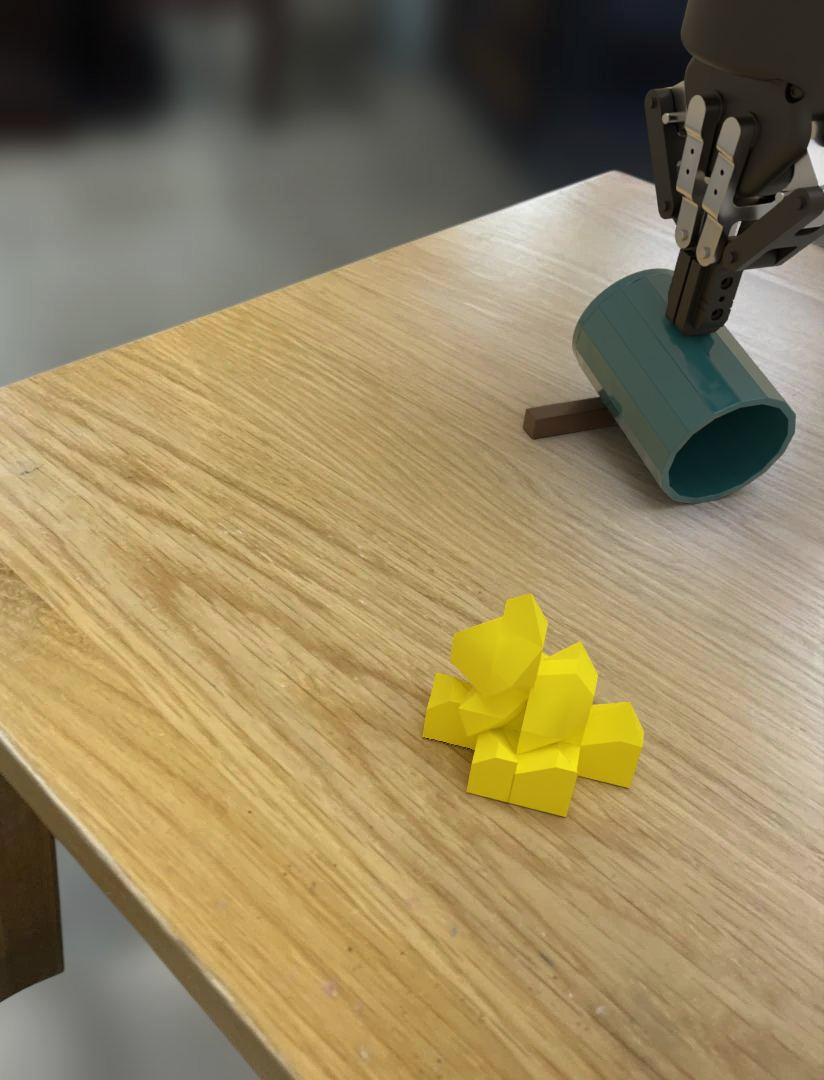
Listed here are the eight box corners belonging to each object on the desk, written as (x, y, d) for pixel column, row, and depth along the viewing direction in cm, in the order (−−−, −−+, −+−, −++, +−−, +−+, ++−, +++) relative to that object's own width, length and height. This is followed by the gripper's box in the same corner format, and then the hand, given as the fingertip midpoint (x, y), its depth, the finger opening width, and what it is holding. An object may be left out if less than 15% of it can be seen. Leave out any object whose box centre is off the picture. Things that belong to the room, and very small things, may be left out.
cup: (710, 260, 62) (818, 389, 56) (668, 363, 68) (763, 491, 61) (591, 275, 61) (689, 410, 55) (557, 379, 66) (643, 513, 60)
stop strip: (715, 394, 68) (721, 376, 68) (728, 406, 67) (733, 387, 67) (522, 427, 65) (525, 408, 64) (532, 439, 64) (535, 420, 64)
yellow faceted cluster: (624, 831, 45) (673, 683, 40) (410, 778, 46) (432, 628, 42) (636, 718, 49) (682, 571, 44) (441, 672, 51) (463, 526, 46)
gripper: (1009, -22, 44) (845, 389, 55) (784, -110, 53) (683, 255, 64) (834, -13, 42) (700, 412, 53) (633, -105, 51) (556, 271, 62)
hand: (691, 325), depth 59 cm, fingers closed
